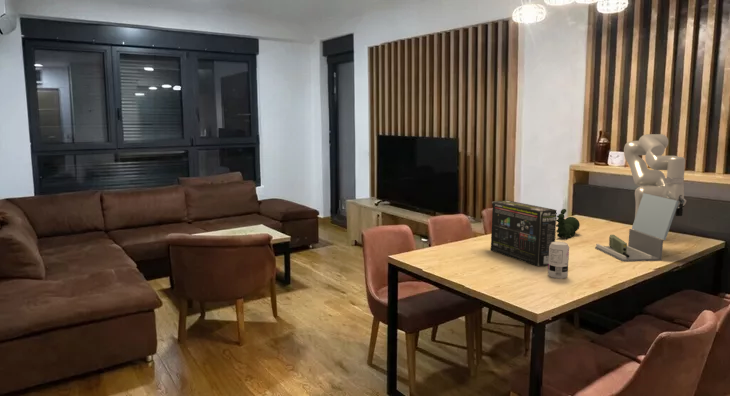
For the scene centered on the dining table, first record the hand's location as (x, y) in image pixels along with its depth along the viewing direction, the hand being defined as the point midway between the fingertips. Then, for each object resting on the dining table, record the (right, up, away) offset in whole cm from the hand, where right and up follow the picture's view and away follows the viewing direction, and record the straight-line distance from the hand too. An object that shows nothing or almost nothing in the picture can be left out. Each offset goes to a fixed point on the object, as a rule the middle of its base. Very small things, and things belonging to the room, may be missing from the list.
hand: (672, 214), depth 261 cm
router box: (-79, -22, -3) cm, 82 cm away
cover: (-10, -1, 0) cm, 10 cm away
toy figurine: (-37, -15, +42) cm, 58 cm away
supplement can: (-72, -27, -35) cm, 84 cm away
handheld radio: (-26, -20, +2) cm, 33 cm away
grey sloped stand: (-22, -21, +2) cm, 31 cm away
